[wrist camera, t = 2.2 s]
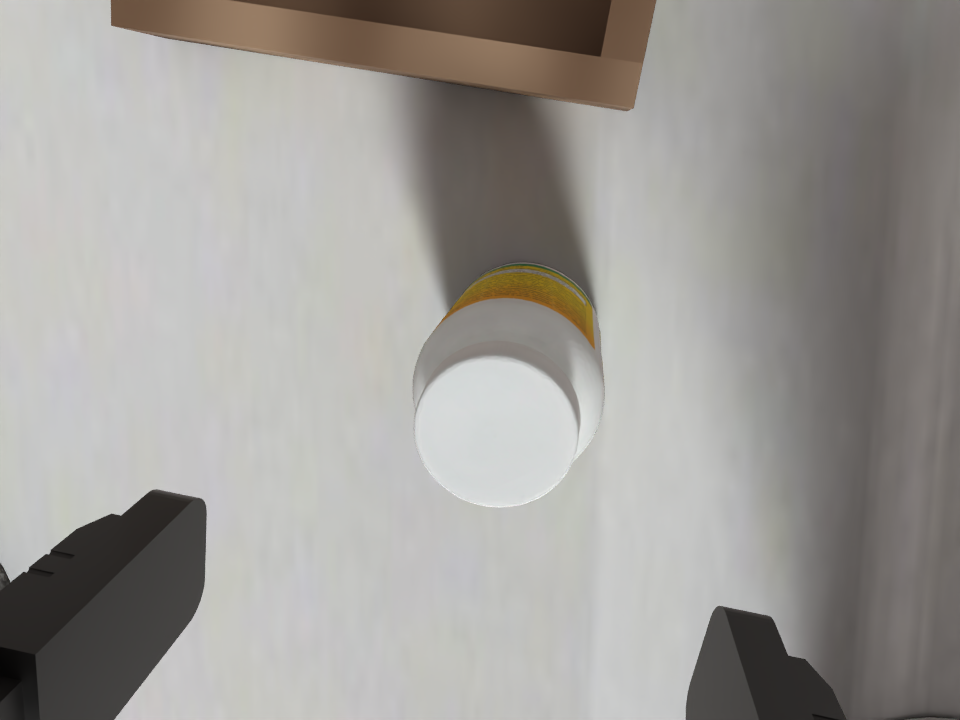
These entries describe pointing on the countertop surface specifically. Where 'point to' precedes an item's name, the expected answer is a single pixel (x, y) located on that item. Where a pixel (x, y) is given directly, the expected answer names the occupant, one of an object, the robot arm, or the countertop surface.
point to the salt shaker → (3, 578)
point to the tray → (430, 39)
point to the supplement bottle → (509, 386)
